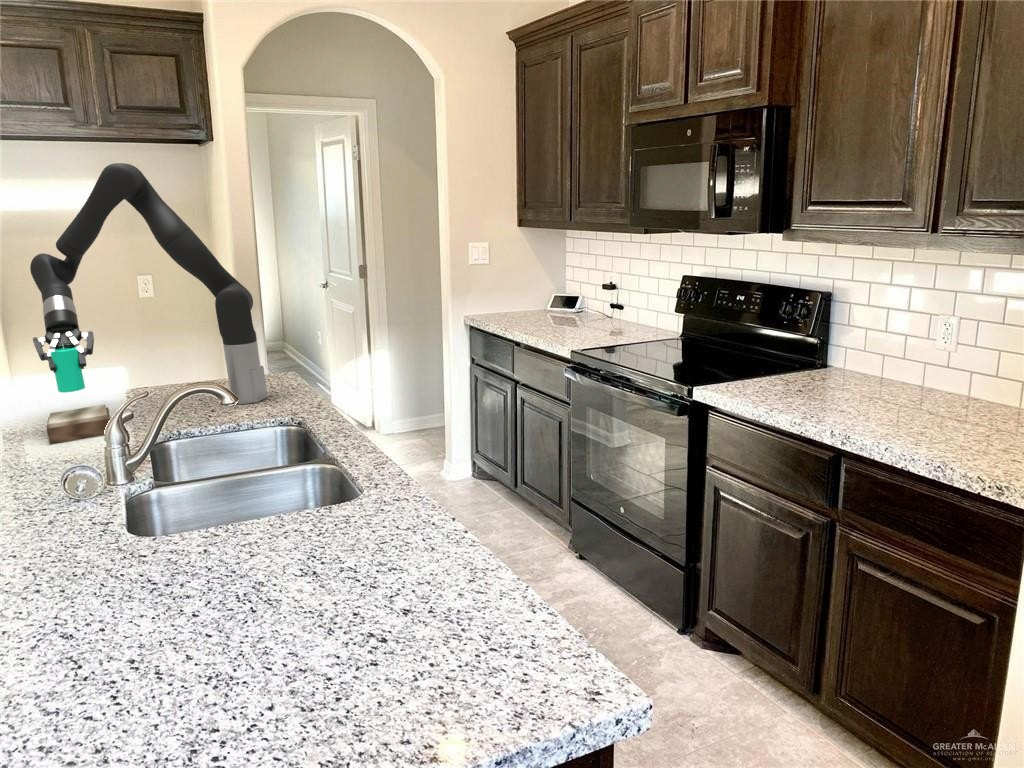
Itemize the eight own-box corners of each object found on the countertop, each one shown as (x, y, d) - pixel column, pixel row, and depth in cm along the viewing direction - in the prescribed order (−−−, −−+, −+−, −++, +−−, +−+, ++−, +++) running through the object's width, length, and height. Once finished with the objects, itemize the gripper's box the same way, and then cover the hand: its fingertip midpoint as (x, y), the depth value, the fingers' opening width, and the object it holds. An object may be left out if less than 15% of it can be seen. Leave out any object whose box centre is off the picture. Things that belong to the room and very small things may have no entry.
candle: (76, 392, 191) (67, 345, 188) (53, 393, 191) (43, 346, 188) (89, 386, 196) (81, 340, 193) (67, 387, 197) (58, 341, 194)
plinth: (110, 421, 206) (107, 403, 204) (112, 433, 194) (109, 414, 192) (51, 431, 199) (47, 413, 198) (49, 444, 187) (45, 425, 186)
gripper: (25, 311, 192) (33, 364, 185) (89, 304, 199) (99, 356, 191) (31, 329, 198) (38, 381, 190) (93, 322, 204) (102, 373, 197)
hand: (68, 368), depth 191 cm, fingers closed on candle, 5 cm apart
